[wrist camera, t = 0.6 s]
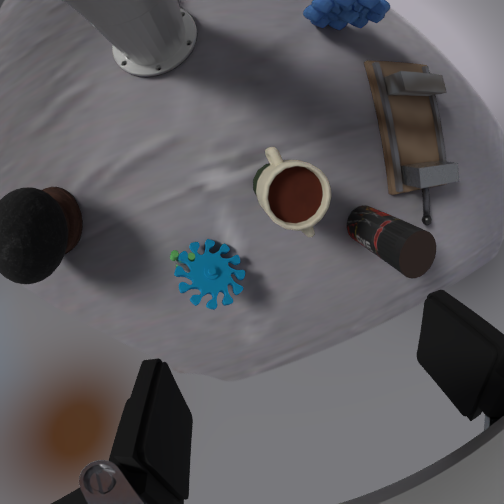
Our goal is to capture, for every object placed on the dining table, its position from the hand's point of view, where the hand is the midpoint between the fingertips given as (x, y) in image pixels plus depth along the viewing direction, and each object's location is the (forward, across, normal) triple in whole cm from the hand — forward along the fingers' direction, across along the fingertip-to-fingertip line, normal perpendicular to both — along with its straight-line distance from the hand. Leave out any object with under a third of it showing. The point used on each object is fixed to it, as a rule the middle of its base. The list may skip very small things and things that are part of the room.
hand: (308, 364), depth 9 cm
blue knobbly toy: (+34, +7, +7) cm, 35 cm away
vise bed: (+33, -30, -10) cm, 46 cm away
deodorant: (+34, -18, +6) cm, 39 cm away
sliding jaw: (+32, -30, +2) cm, 44 cm away
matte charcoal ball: (+33, +30, -5) cm, 45 cm away
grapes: (+33, -19, -28) cm, 47 cm away
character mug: (+33, -5, -3) cm, 34 cm away
